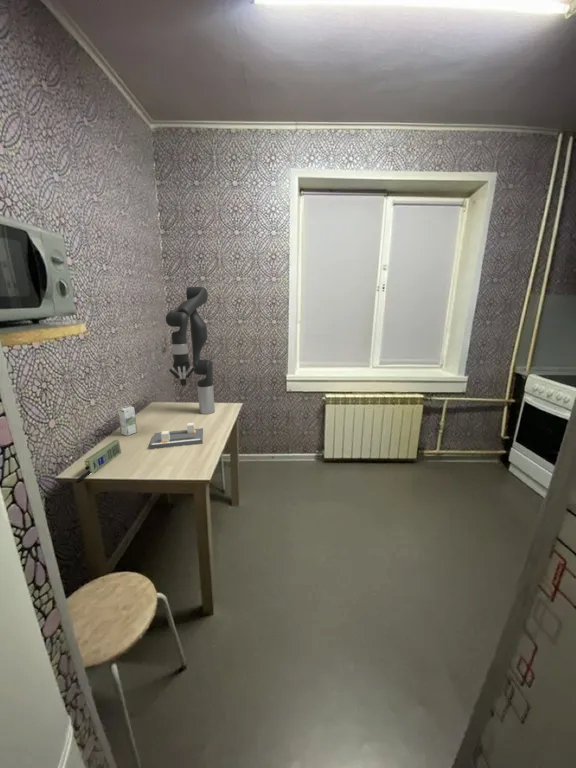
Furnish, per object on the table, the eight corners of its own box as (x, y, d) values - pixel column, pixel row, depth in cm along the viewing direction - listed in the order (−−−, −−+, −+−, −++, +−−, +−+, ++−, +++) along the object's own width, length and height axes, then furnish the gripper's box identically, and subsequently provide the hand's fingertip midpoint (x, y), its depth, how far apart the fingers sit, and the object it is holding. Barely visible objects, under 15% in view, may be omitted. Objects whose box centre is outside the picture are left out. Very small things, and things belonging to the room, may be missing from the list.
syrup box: (130, 430, 171) (127, 404, 167) (137, 432, 168) (134, 406, 165) (120, 434, 166) (116, 408, 163) (127, 436, 163) (123, 409, 160)
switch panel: (155, 436, 163) (154, 432, 162) (203, 431, 168) (202, 428, 168) (150, 449, 149) (149, 445, 148) (202, 443, 154) (202, 439, 154)
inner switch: (188, 430, 164) (187, 423, 163) (194, 429, 165) (193, 422, 164) (187, 433, 161) (186, 425, 160) (194, 432, 162) (193, 425, 161)
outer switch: (163, 438, 154) (162, 431, 153) (169, 438, 155) (169, 430, 154) (162, 441, 151) (161, 434, 150) (169, 441, 152) (168, 433, 151)
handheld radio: (122, 453, 146) (83, 482, 122) (116, 453, 146) (75, 482, 122) (120, 439, 144) (80, 467, 120) (113, 439, 144) (72, 467, 120)
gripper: (194, 350, 165) (197, 383, 169) (167, 352, 162) (171, 384, 166) (193, 353, 158) (196, 386, 162) (165, 354, 155) (169, 388, 159)
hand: (183, 385), depth 164 cm, fingers closed
